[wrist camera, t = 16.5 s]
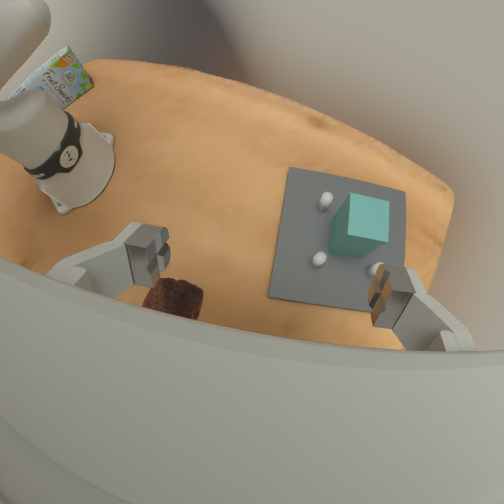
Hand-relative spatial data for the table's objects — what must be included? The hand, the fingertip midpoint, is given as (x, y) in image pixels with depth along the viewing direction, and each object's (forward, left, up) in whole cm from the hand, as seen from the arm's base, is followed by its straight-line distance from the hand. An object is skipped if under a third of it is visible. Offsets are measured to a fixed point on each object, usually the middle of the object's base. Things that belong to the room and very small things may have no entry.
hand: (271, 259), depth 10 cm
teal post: (+6, +12, -28) cm, 31 cm away
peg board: (+6, +12, -29) cm, 32 cm away
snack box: (-70, +13, -30) cm, 77 cm away
